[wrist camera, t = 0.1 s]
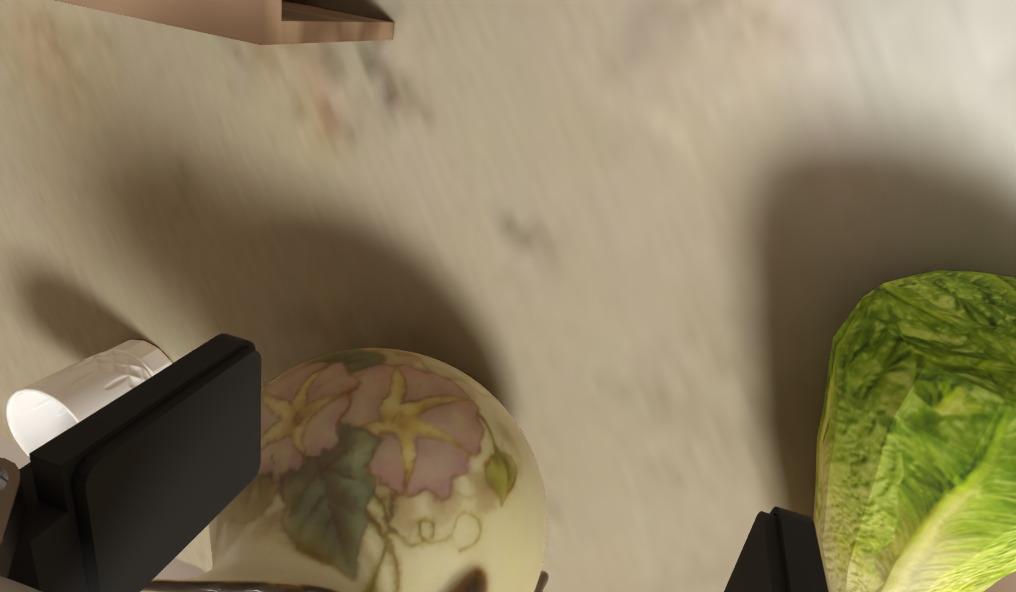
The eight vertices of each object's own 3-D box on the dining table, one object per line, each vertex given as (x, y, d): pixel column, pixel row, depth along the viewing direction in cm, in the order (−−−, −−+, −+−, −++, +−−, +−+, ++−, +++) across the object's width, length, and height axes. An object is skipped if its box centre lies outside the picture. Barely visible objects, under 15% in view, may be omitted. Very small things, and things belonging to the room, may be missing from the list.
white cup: (107, 322, 57) (-3, 376, 48) (183, 346, 56) (83, 406, 47) (116, 396, 61) (15, 459, 52) (188, 420, 59) (96, 490, 50)
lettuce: (960, 591, 45) (740, 514, 50) (1165, 284, 34) (855, 217, 38) (1018, 815, 33) (721, 688, 37) (1372, 458, 21) (881, 332, 26)
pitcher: (274, 310, 51) (-51, 532, 29) (562, 284, 44) (418, 557, 22) (351, 535, 59) (139, 846, 37) (609, 546, 51) (537, 946, 29)
